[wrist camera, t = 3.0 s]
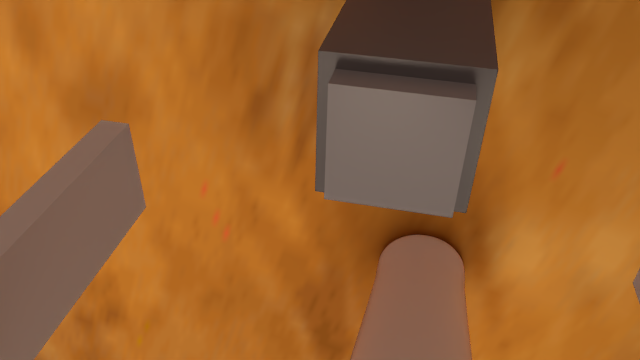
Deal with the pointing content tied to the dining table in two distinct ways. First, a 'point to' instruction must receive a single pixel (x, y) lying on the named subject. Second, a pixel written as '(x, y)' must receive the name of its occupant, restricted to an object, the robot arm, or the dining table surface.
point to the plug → (404, 103)
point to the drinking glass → (416, 304)
